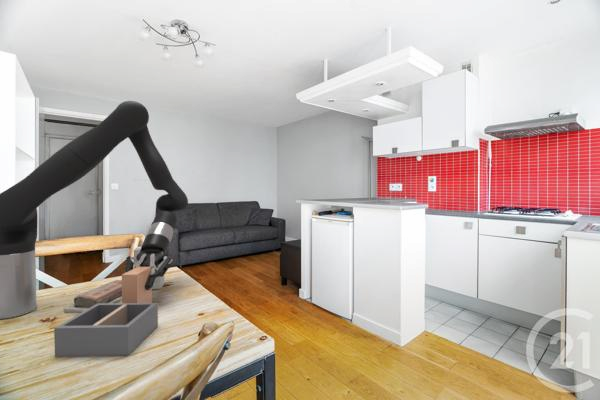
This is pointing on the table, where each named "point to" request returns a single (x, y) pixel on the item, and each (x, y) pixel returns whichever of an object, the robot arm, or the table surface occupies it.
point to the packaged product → (97, 297)
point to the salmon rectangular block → (136, 286)
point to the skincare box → (159, 280)
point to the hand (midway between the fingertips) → (138, 288)
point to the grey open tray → (106, 330)
